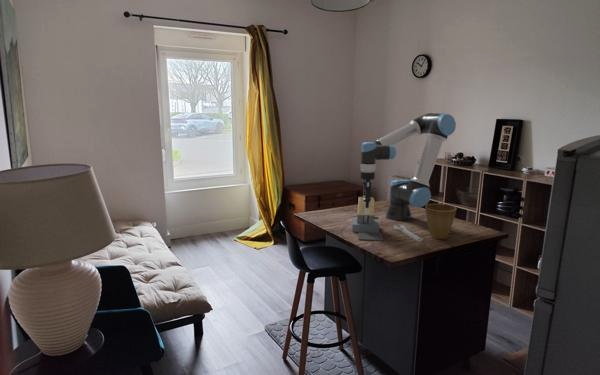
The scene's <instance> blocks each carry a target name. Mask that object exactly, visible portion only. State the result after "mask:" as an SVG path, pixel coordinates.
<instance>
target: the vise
mask: <svg viewBox="0 0 600 375" xmlns="http://www.w3.org/2000/svg"><path fill="white" fill-rule="evenodd" d="M364 200H365V198H364ZM379 219H380V218H379V216H375V214H374V216H373V215H359V214H358V211H357V212H356V218H351V232H352V233H358V232H368V233H380V224H379Z"/></svg>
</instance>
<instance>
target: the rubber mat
mask: <svg viewBox="0 0 600 375" xmlns="http://www.w3.org/2000/svg"><path fill="white" fill-rule="evenodd" d="M357 234H358V240H359V241H368V240H369V241H370V242H373V241H374V242H384V241H385V240H384V238H383V234H382V233H381V232H379V233H370V232H357Z"/></svg>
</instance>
